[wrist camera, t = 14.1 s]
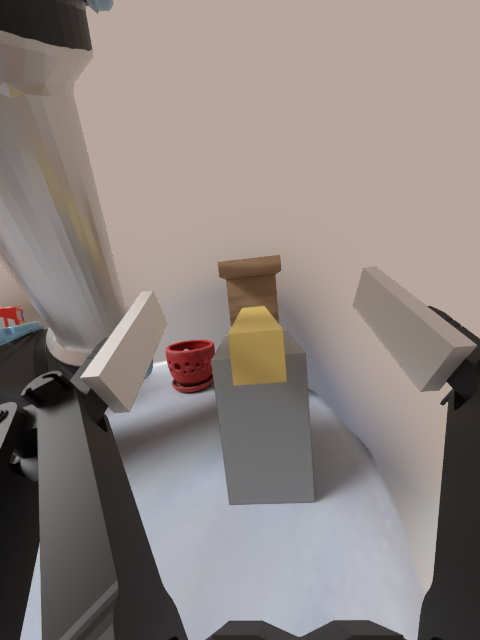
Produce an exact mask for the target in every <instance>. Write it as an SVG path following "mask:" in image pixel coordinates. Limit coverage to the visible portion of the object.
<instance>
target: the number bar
mask: <svg viewBox="0 0 480 640" xmlns="http://www.w3.org/2000/svg"><path fill="white" fill-rule="evenodd" d="M228 341H229V350H230V359H231V368H232V377H233V385H234V386H236V385H250V384H264V383H279V382H287V378H286V365H285V351H284V338H283V329H282V328H281V326H280V325H279V324H278V322H277V321H276V320H275V319H274V317H273V316H272V315H271V314H270V312H269V311H268V310H267V308H266V307H265V306H257V307H247V308H242V309H241V311H240V313H239V314H238V316H237V318H236V320H235V322H234V324H233V325H232V327H231V329H230V331H229V333H228Z"/></svg>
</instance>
